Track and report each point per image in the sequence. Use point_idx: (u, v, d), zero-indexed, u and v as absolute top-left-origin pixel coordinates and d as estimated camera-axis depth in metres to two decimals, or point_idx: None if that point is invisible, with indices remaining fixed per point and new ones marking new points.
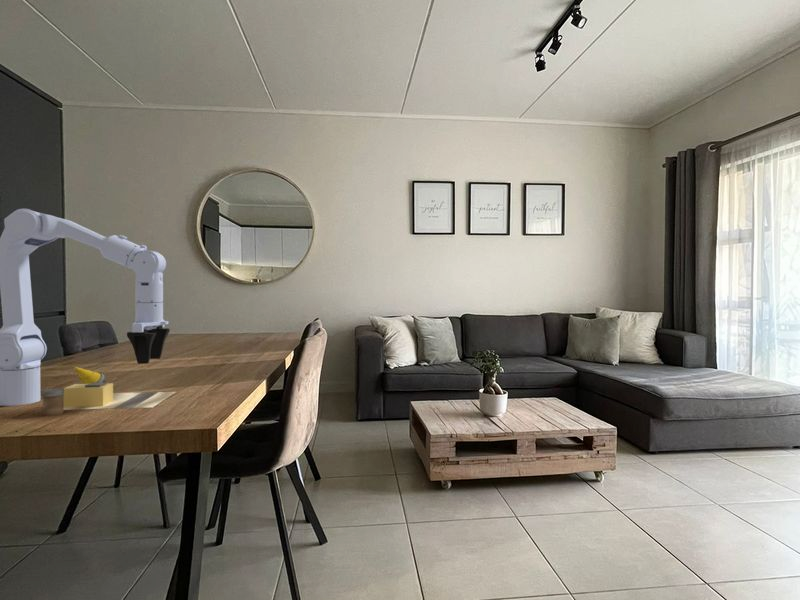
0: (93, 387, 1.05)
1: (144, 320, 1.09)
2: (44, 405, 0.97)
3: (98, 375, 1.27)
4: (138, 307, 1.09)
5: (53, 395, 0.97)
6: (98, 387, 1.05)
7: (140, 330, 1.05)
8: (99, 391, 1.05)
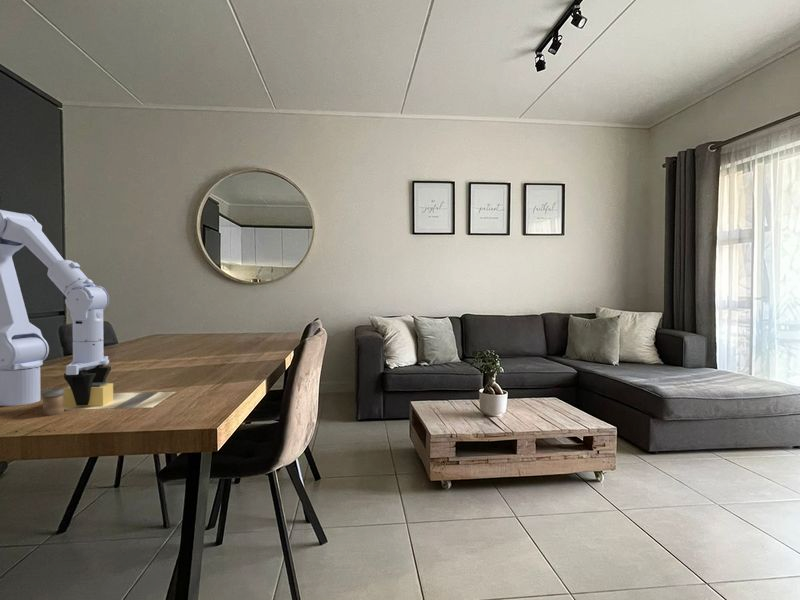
0: (93, 387, 1.05)
1: (81, 360, 1.04)
2: (44, 405, 0.97)
3: None
4: (75, 346, 1.04)
5: (53, 395, 0.97)
6: (98, 387, 1.05)
7: (74, 372, 1.00)
8: (99, 391, 1.05)
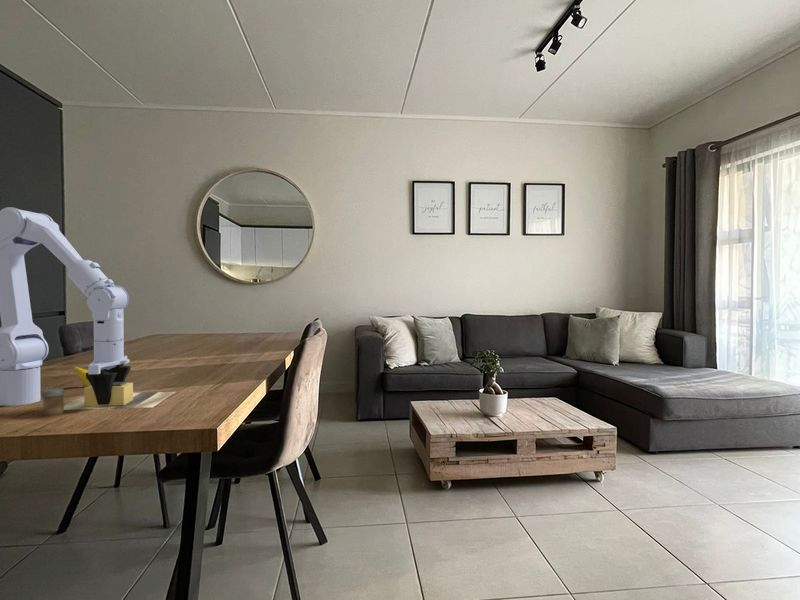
0: (114, 386, 1.06)
1: (102, 360, 1.04)
2: (44, 405, 0.97)
3: None
4: (96, 346, 1.05)
5: (53, 395, 0.97)
6: (119, 386, 1.06)
7: (96, 372, 1.00)
8: (119, 390, 1.05)
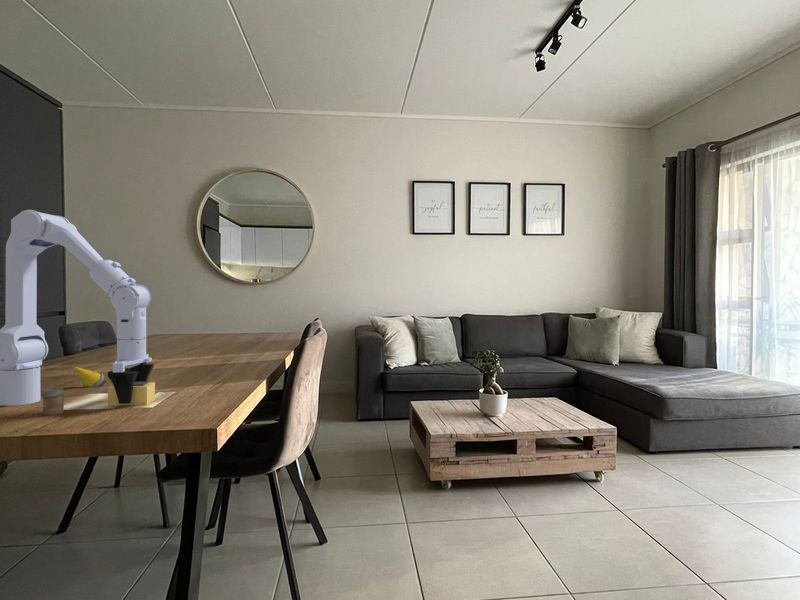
0: (137, 386, 1.06)
1: (126, 358, 1.05)
2: (44, 405, 0.97)
3: (98, 375, 1.27)
4: (120, 344, 1.05)
5: (53, 395, 0.97)
6: (142, 386, 1.06)
7: (121, 370, 1.01)
8: (143, 390, 1.06)
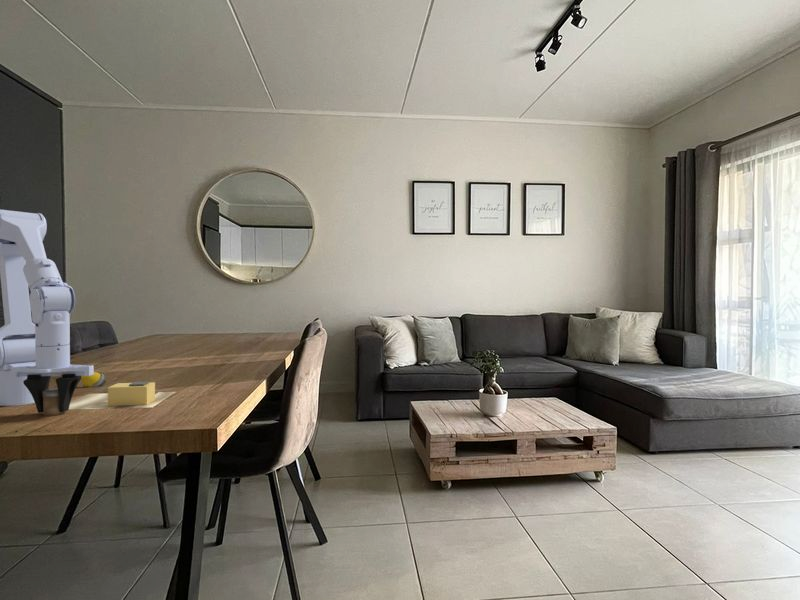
0: (137, 386, 1.06)
1: None
2: (44, 405, 0.97)
3: (98, 375, 1.27)
4: None
5: (53, 395, 0.97)
6: (142, 386, 1.06)
7: None
8: (143, 390, 1.06)
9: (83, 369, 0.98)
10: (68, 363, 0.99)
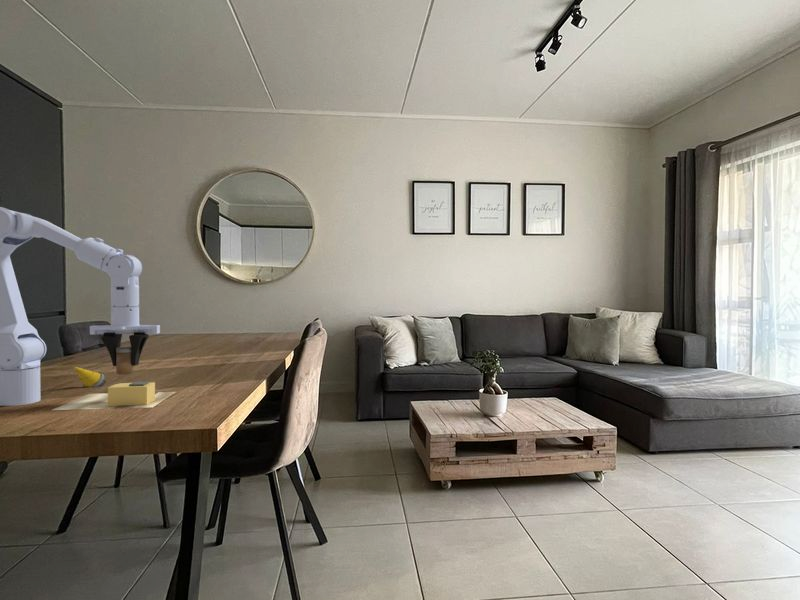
0: (137, 386, 1.06)
1: None
2: (117, 360, 1.10)
3: (98, 375, 1.27)
4: None
5: (124, 351, 1.10)
6: (142, 386, 1.06)
7: None
8: (143, 390, 1.06)
9: (152, 328, 1.11)
10: (138, 323, 1.12)
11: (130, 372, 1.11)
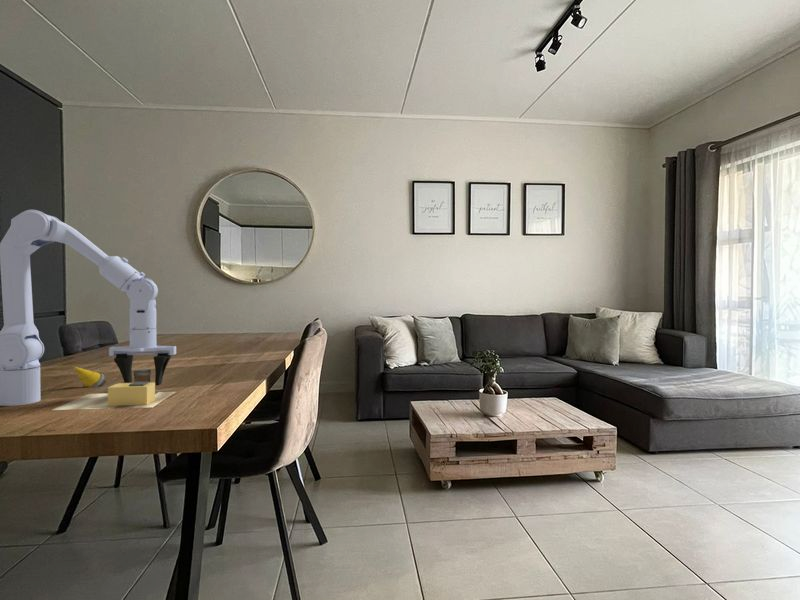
0: (137, 386, 1.06)
1: None
2: None
3: (98, 375, 1.27)
4: None
5: (142, 374, 1.14)
6: (142, 386, 1.06)
7: None
8: (143, 390, 1.06)
9: (169, 349, 1.16)
10: (155, 344, 1.16)
11: None
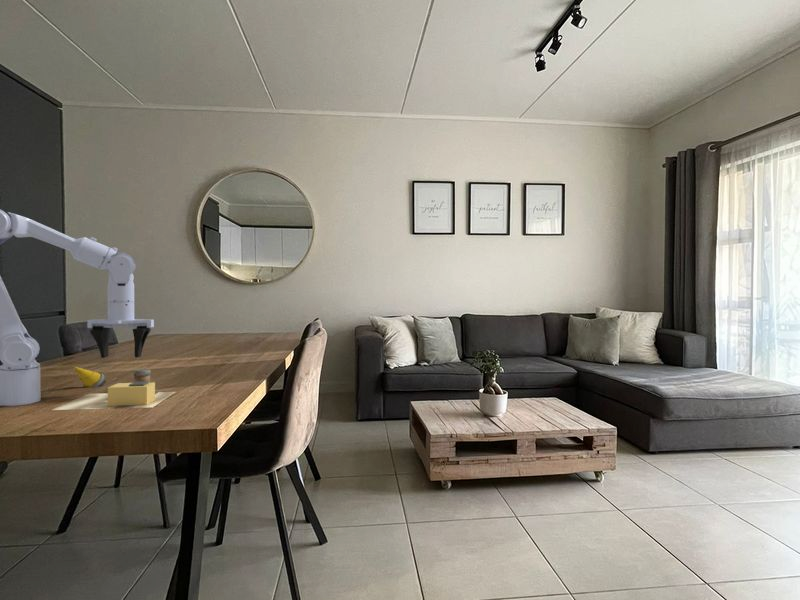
0: (137, 386, 1.06)
1: None
2: None
3: (98, 375, 1.27)
4: None
5: (142, 374, 1.14)
6: (142, 386, 1.06)
7: None
8: (143, 390, 1.06)
9: (146, 322, 1.18)
10: (133, 317, 1.19)
11: None
